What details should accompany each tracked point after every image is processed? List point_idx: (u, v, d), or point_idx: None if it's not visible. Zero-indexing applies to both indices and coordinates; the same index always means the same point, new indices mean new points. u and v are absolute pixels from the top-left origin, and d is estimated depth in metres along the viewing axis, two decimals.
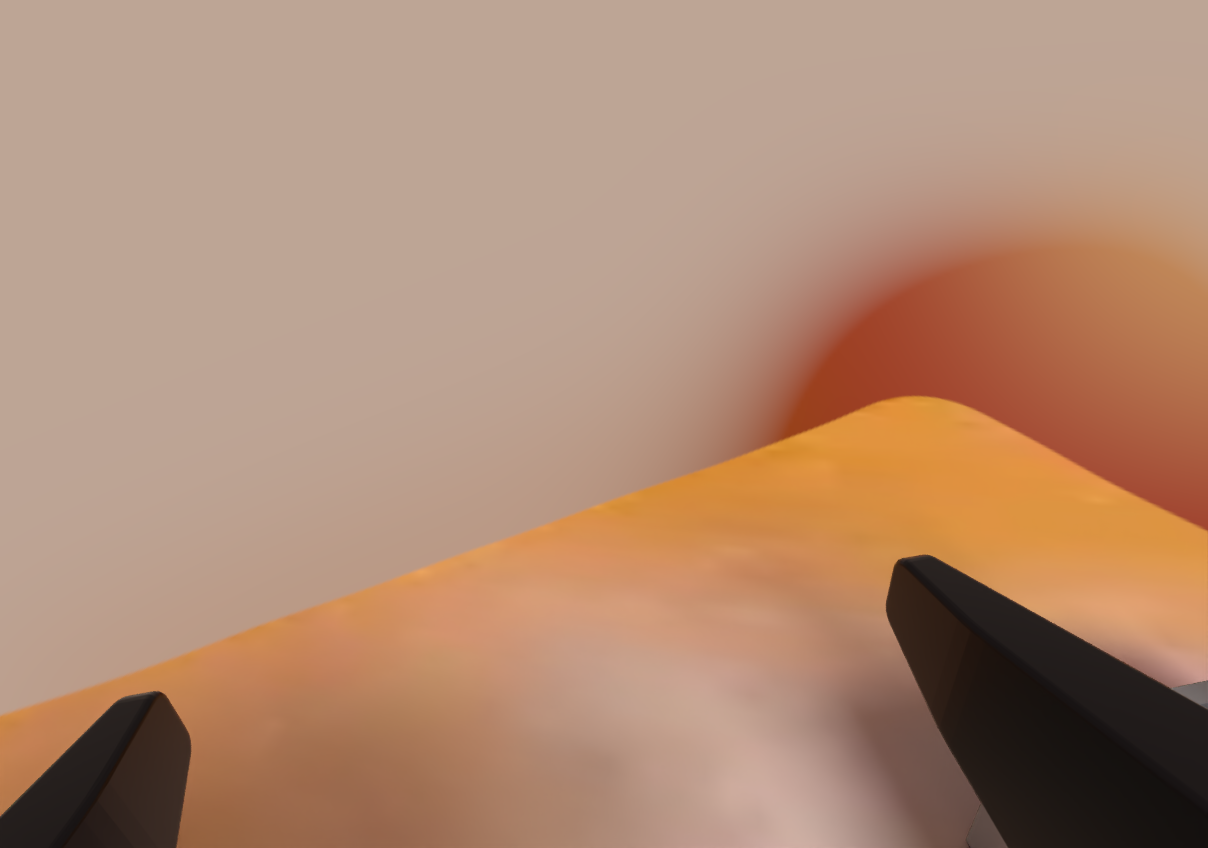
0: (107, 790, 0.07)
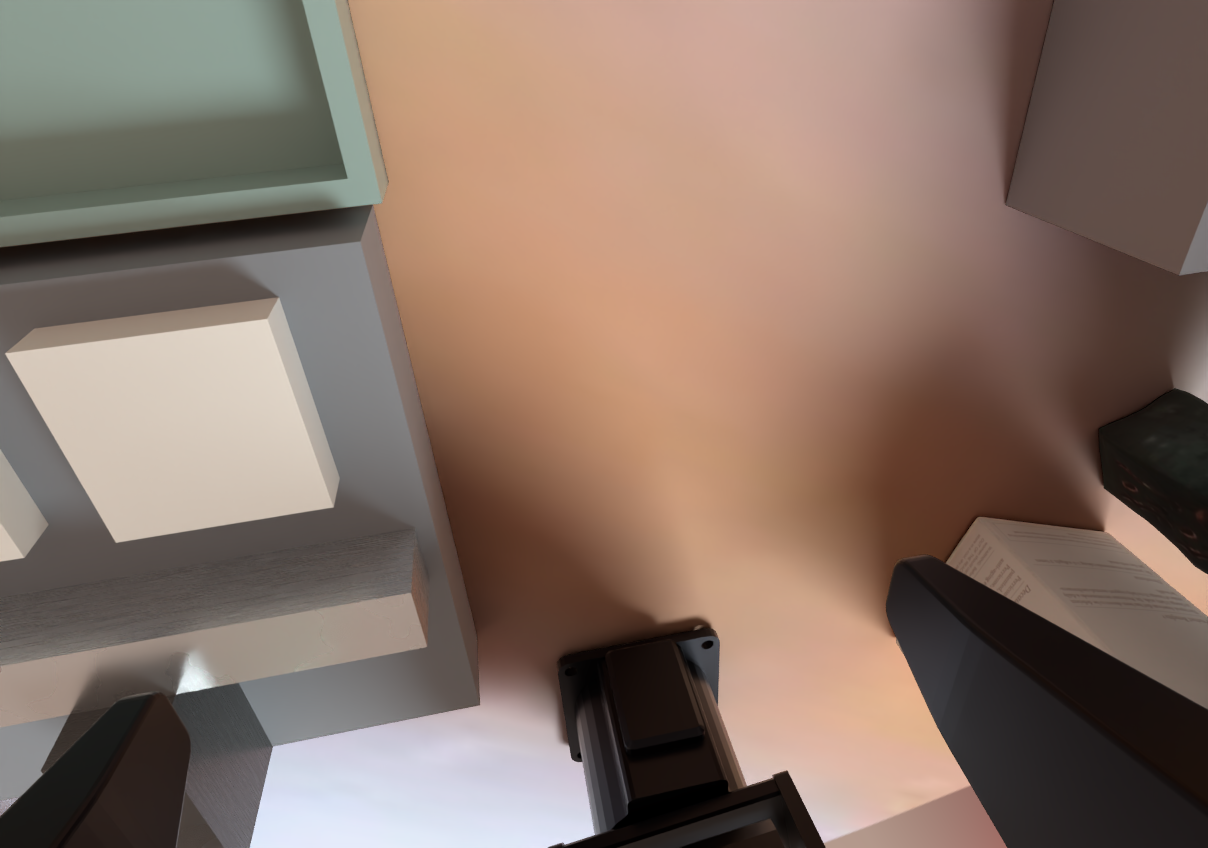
0: (107, 790, 0.07)
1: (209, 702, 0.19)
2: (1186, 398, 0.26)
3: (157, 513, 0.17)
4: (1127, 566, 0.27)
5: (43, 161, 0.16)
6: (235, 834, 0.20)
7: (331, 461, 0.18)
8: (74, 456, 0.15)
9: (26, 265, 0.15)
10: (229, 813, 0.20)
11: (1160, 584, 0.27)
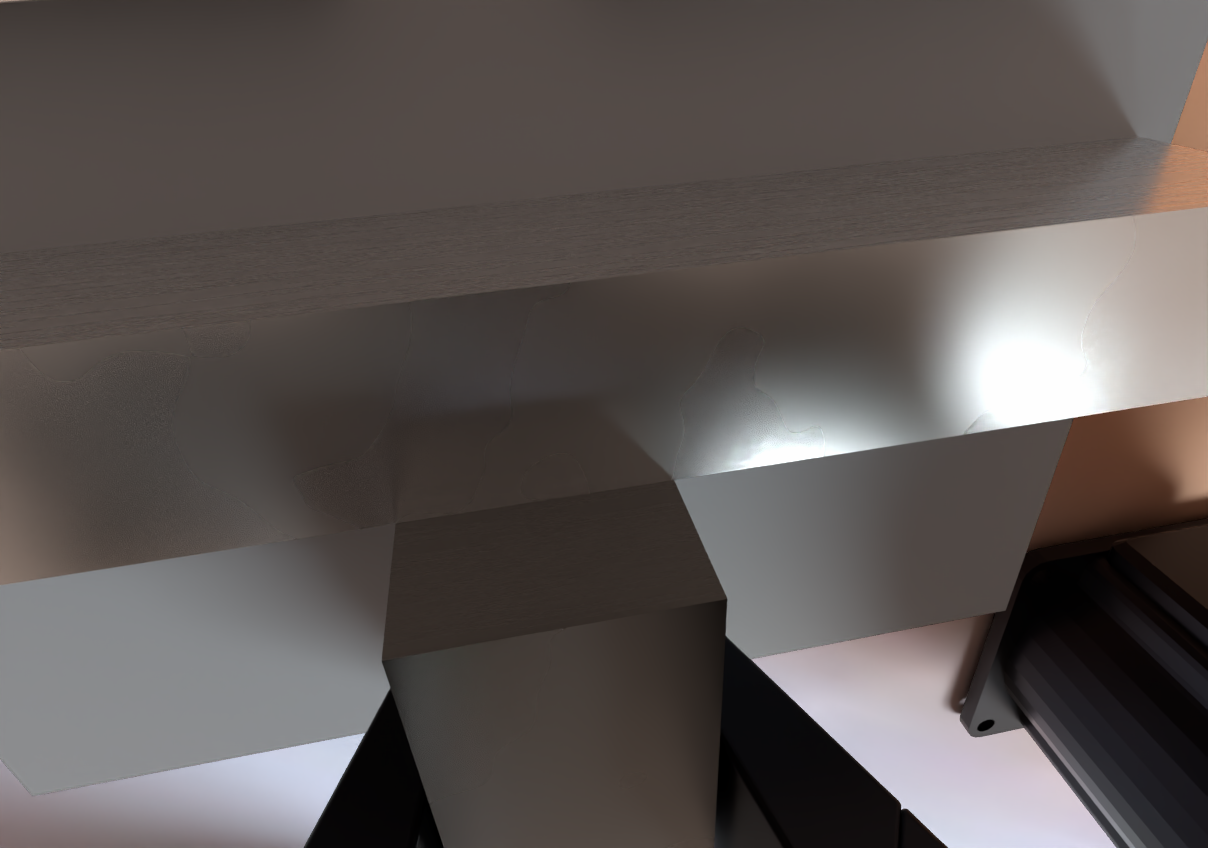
0: None
1: None
2: None
3: None
4: None
5: None
6: None
7: None
8: None
9: None
10: None
11: None
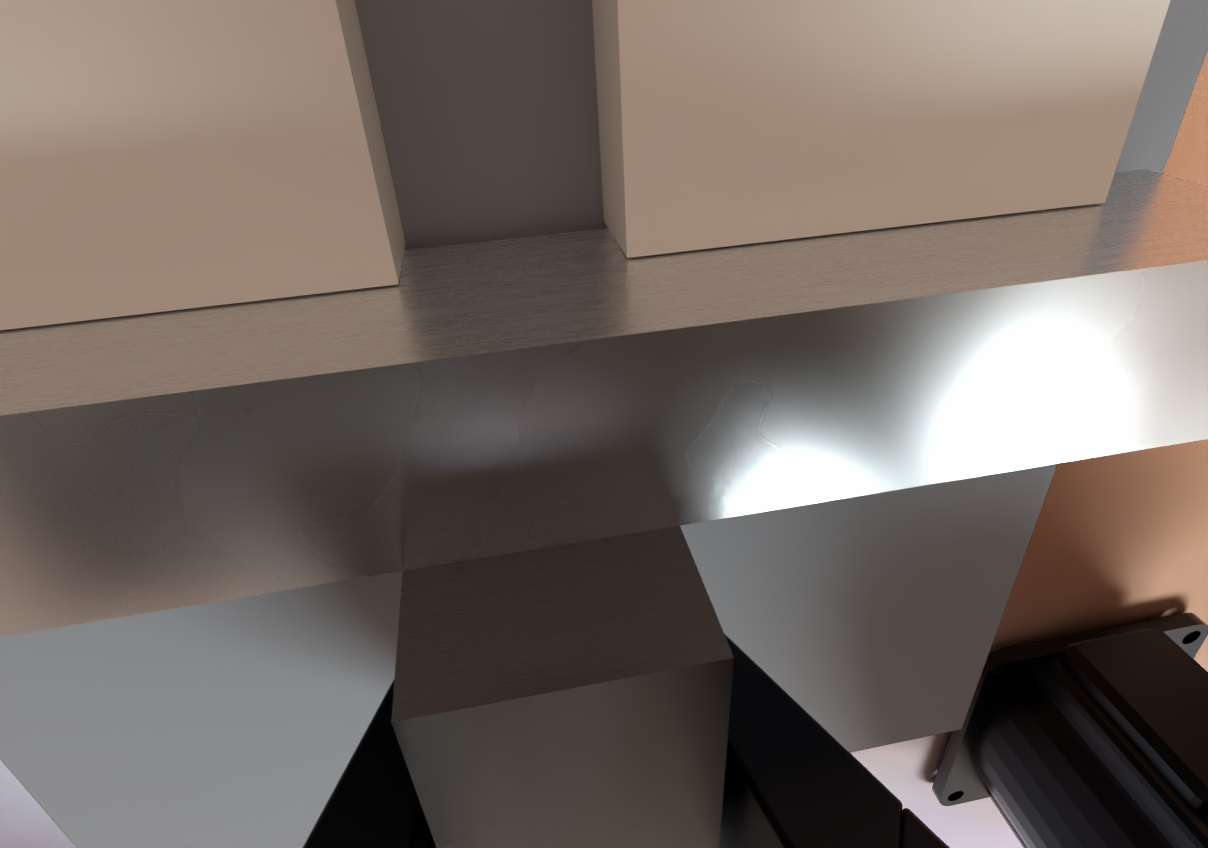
0: None
1: None
2: None
3: (750, 175, 0.06)
4: None
5: None
6: None
7: None
8: None
9: None
10: None
11: None
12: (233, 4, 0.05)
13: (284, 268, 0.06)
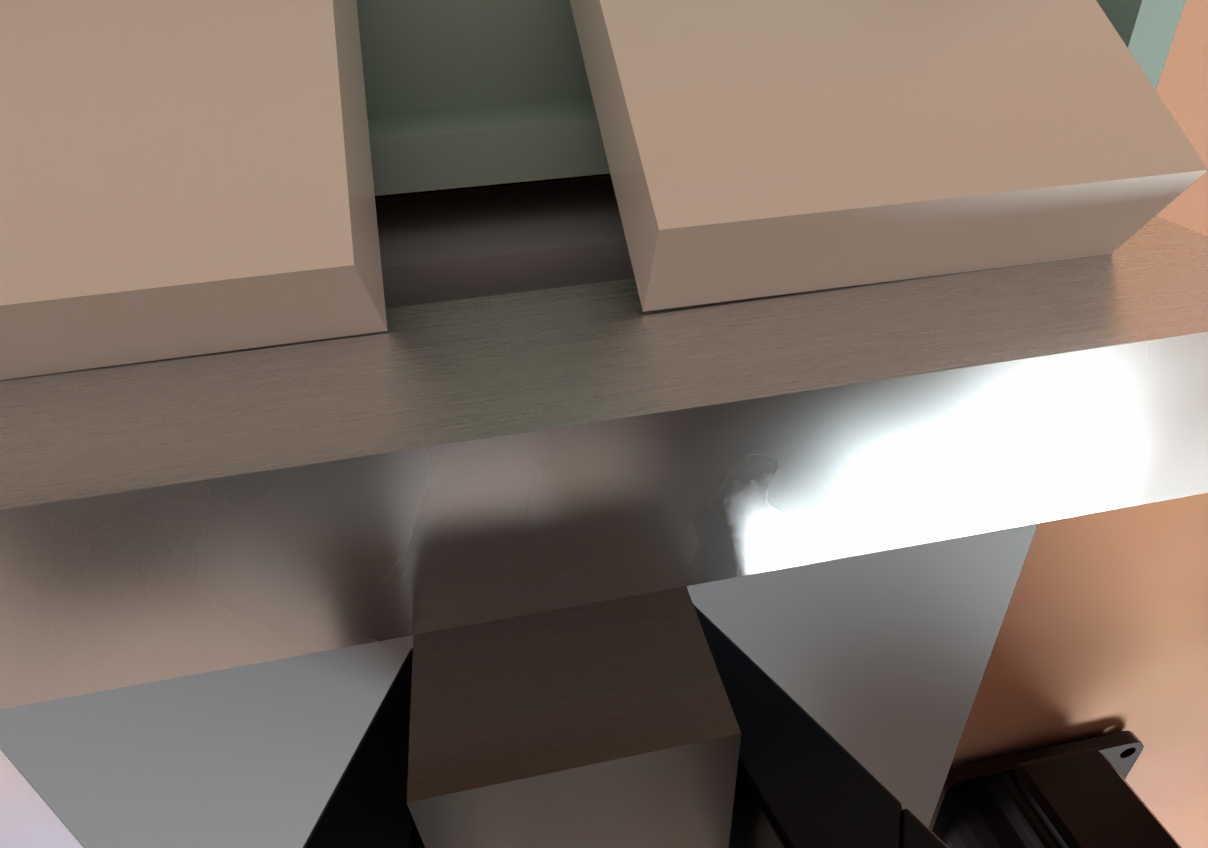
0: None
1: None
2: None
3: (776, 156, 0.06)
4: None
5: (575, 38, 0.09)
6: None
7: None
8: (622, 15, 0.07)
9: (561, 215, 0.09)
10: None
11: None
12: (252, 50, 0.06)
13: (231, 250, 0.06)
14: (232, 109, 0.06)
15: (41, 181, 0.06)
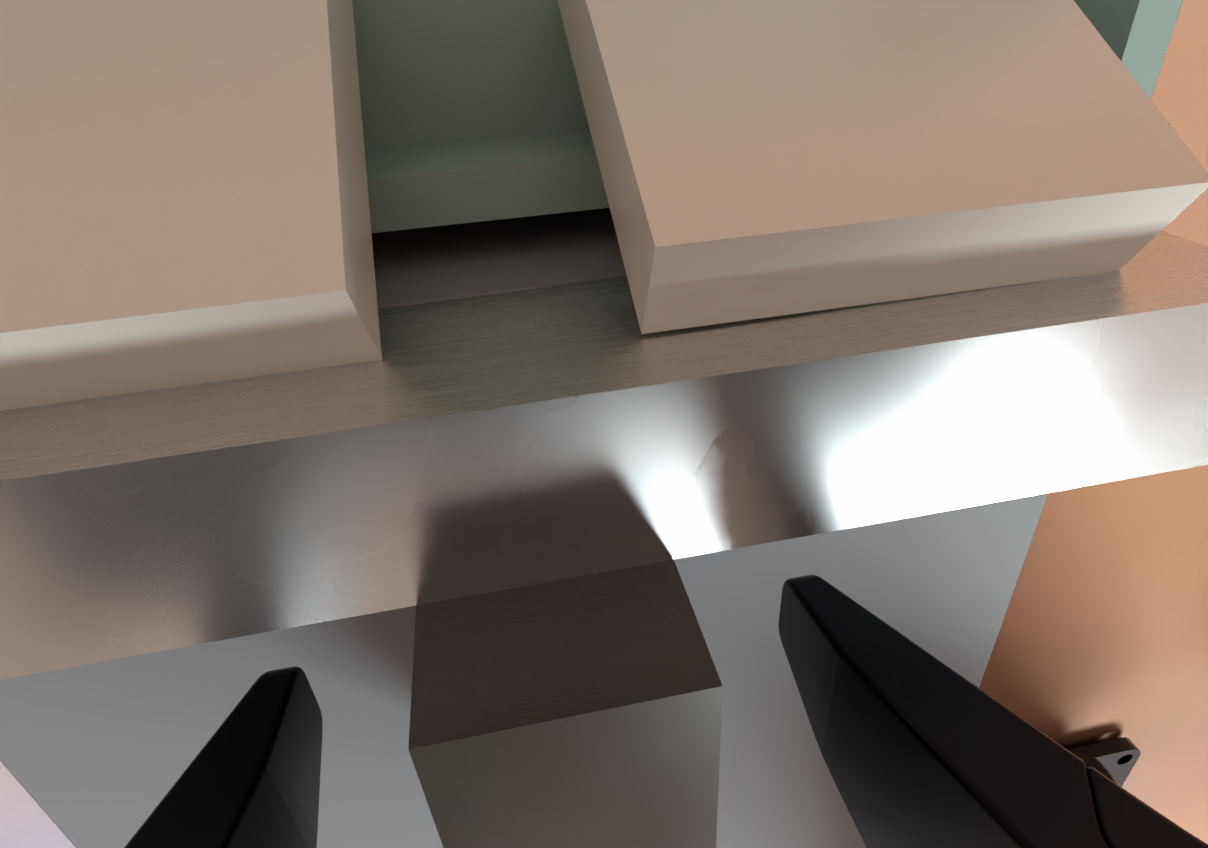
0: (272, 758, 0.07)
1: None
2: None
3: (773, 173, 0.06)
4: None
5: (571, 71, 0.09)
6: None
7: None
8: (617, 41, 0.07)
9: (558, 248, 0.09)
10: None
11: None
12: (247, 82, 0.06)
13: (222, 276, 0.05)
14: (226, 139, 0.06)
15: (33, 211, 0.06)
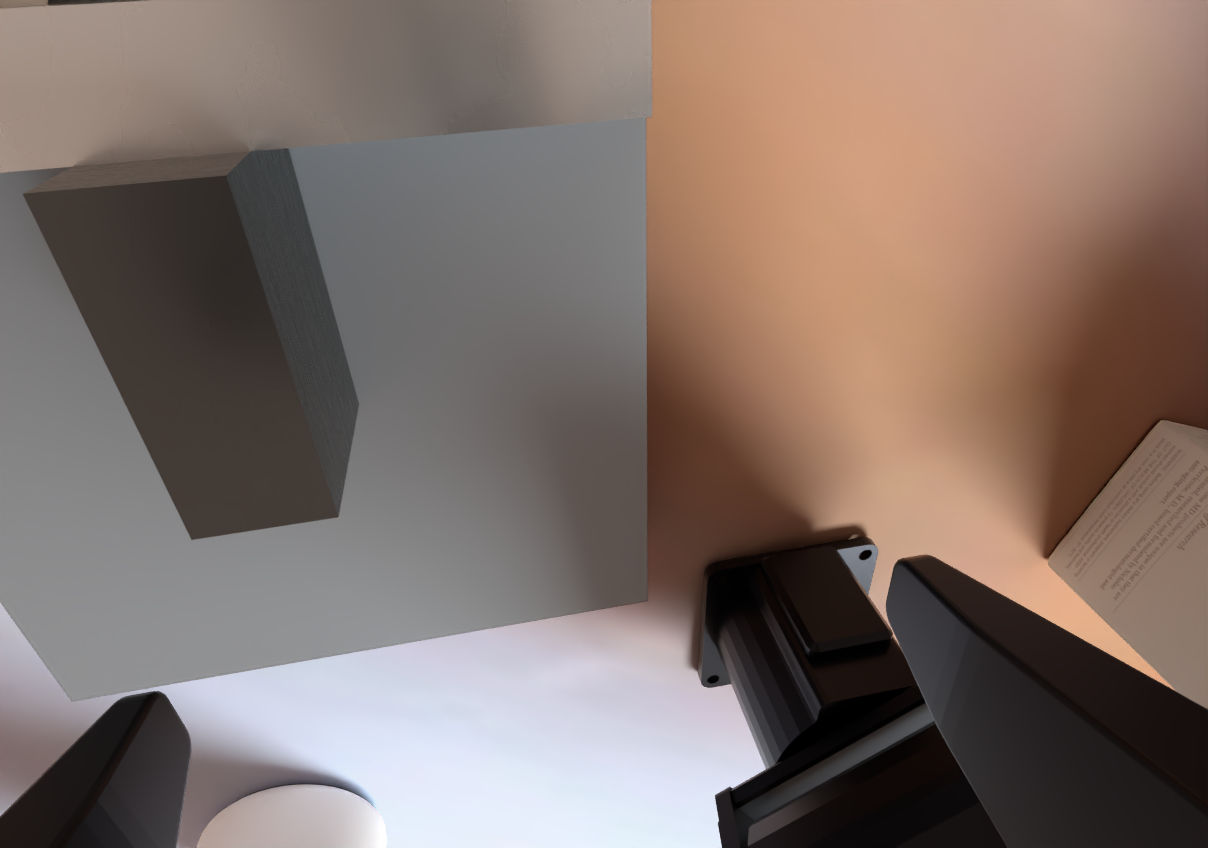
0: (107, 790, 0.07)
1: (291, 234, 0.12)
2: None
3: None
4: None
5: None
6: (328, 451, 0.13)
7: None
8: None
9: None
10: (320, 415, 0.13)
11: None
12: None
13: None
14: None
15: None
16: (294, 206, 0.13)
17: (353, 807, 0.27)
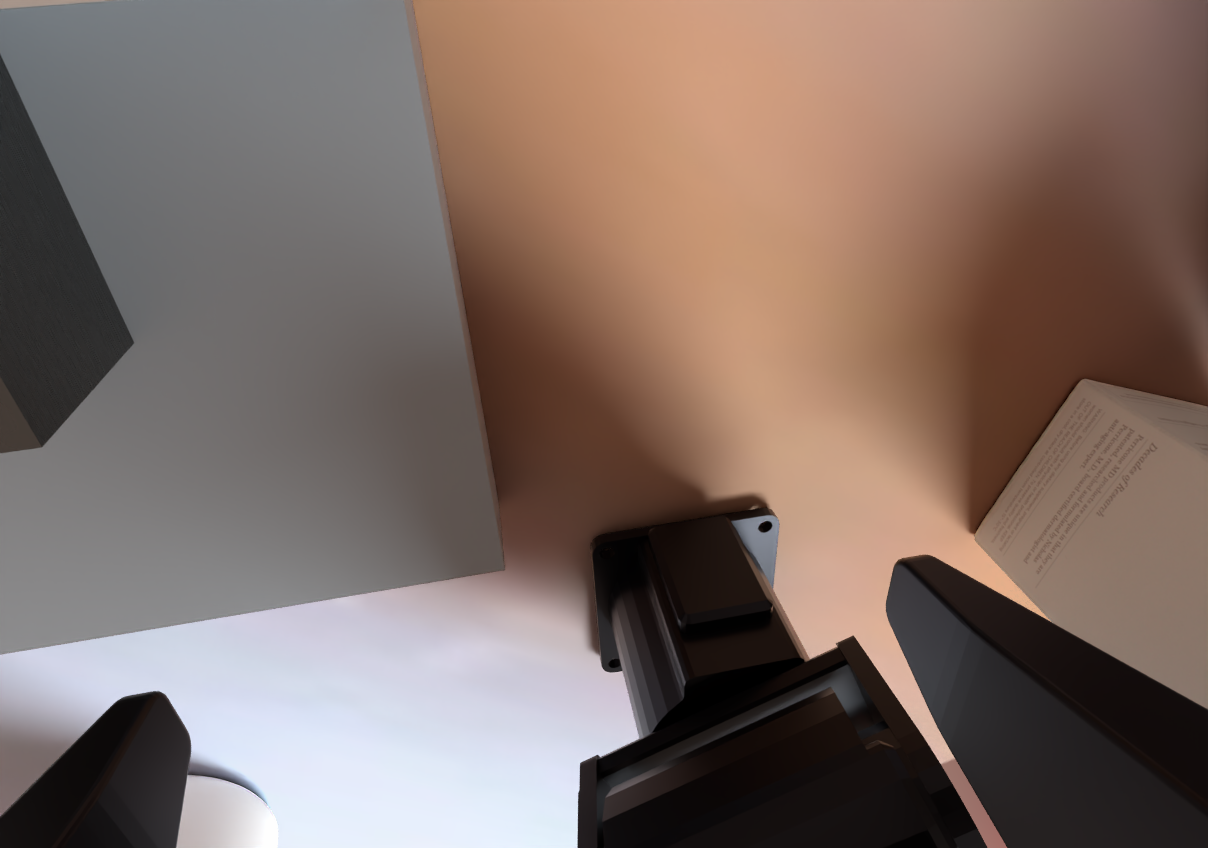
0: (107, 790, 0.07)
1: None
2: None
3: None
4: None
5: None
6: (29, 374, 0.11)
7: None
8: None
9: None
10: (17, 333, 0.11)
11: None
12: None
13: None
14: None
15: None
16: None
17: (234, 799, 0.26)
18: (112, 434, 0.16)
